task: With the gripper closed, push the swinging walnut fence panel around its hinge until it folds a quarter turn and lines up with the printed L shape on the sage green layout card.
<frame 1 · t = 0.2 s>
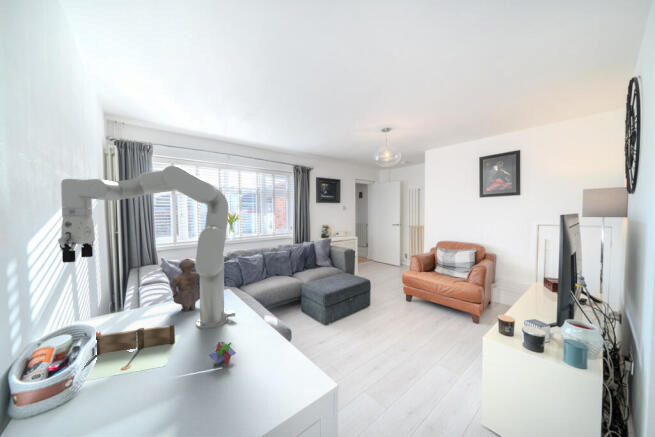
hand: (78, 259, 87), 31 cm above the table, tool pointing down, fingers open, 9 cm apart
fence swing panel: (115, 340, 80), point 4 cm above the table, hinge at 0.0°
geometric puzzle: (223, 364, 75), on the table
fence fixed section: (141, 348, 83), resting on layout card
layout card: (134, 356, 79), on the table
clay figurine: (188, 309, 117), on the table
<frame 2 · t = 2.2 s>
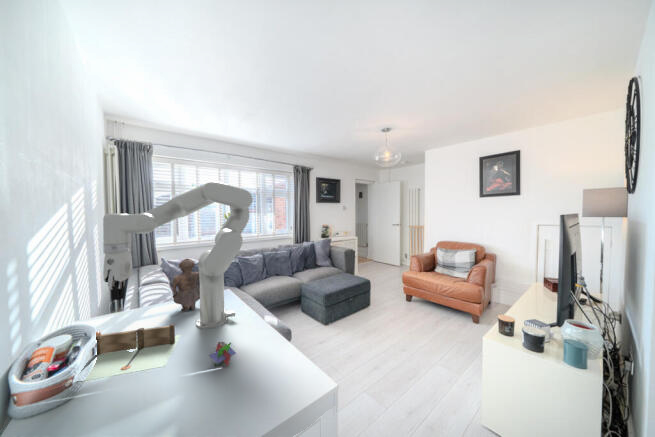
hand: (117, 298, 85), 17 cm above the table, tool pointing down, fingers closed
nothing on the table moved.
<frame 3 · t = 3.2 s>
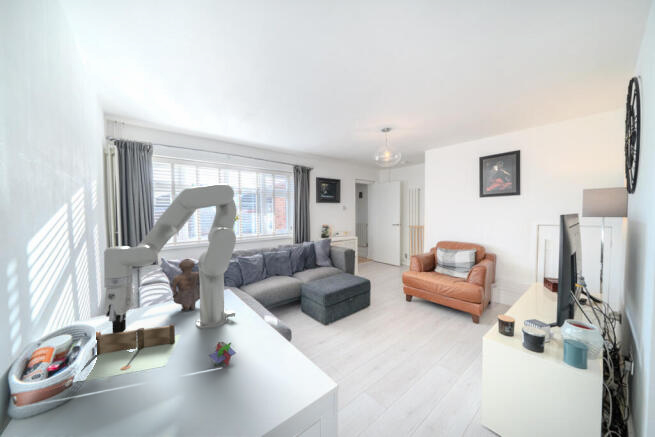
hand: (119, 331, 85), 5 cm above the table, tool pointing down, fingers closed
nothing on the table moved.
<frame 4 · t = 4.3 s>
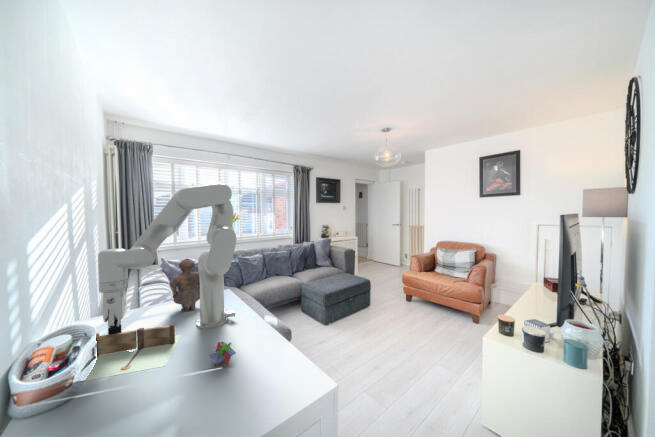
hand: (115, 337, 82), 5 cm above the table, tool pointing down, fingers closed
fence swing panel: (114, 341, 80), point 4 cm above the table, hinge at 4.6°, touching gripper
everything else where it was.
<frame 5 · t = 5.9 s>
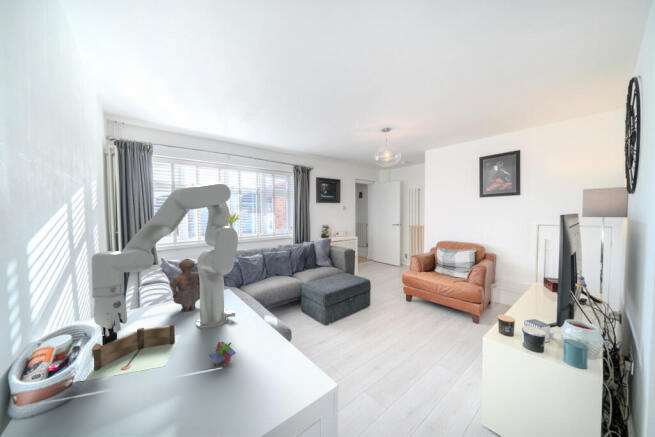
hand: (110, 346, 76), 5 cm above the table, tool pointing down, fingers closed
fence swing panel: (116, 347, 76), point 4 cm above the table, hinge at 49.9°, touching gripper
everything else where it was.
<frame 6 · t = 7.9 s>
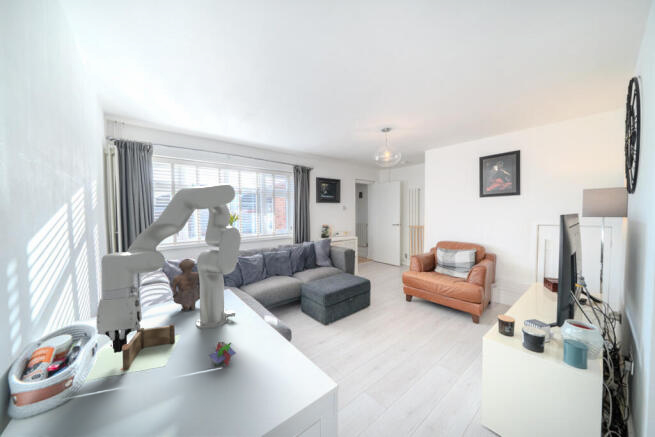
hand: (120, 350, 74), 5 cm above the table, tool pointing down, fingers closed
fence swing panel: (132, 347, 76), point 4 cm above the table, hinge at 92.6°
everything else where it was.
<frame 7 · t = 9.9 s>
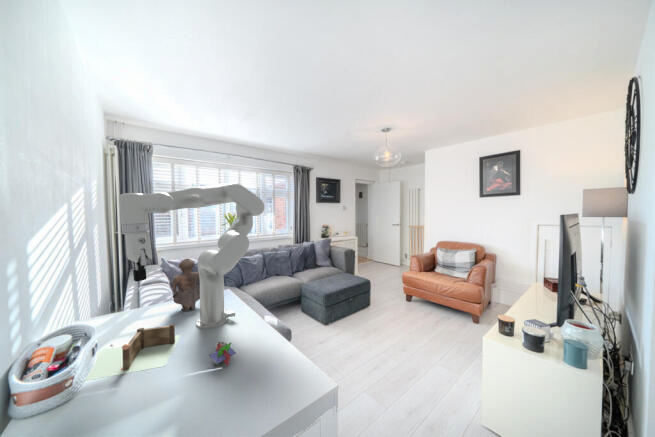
hand: (140, 280, 84), 24 cm above the table, tool pointing down, fingers closed
nothing on the table moved.
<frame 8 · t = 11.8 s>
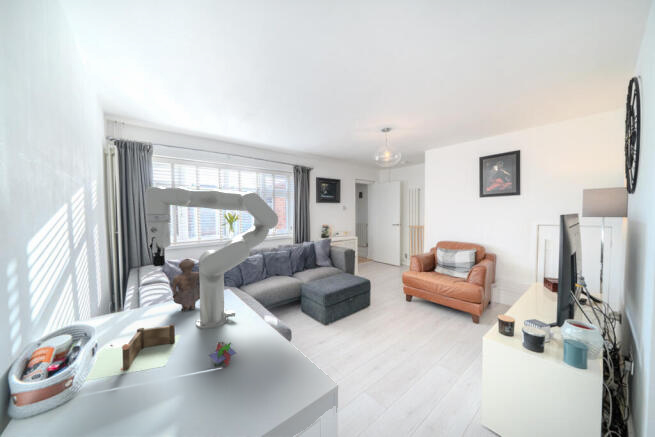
hand: (159, 265, 92), 27 cm above the table, tool pointing down, fingers closed
nothing on the table moved.
at the end: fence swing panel at +93° (first picture: +0°); the gripper is holding nothing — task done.
